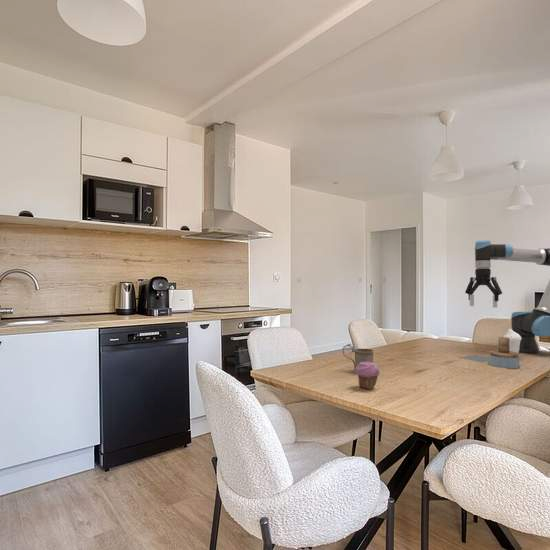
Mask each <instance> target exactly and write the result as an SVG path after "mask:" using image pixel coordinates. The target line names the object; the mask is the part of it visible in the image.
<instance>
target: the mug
mask: <svg viewBox="0 0 550 550" xmlns="http://www.w3.org/2000/svg"><path fill="white" fill-rule="evenodd" d="M347 347H351V349H352V350H351V353H354V359H352V358H351V357H349V356H347V355H346V354H345V351H344V349H345V348H347ZM374 352H375V351H374V349H371V348H355V349H354V347H353V345H352V344H351V343H347V344H346V345H345V346H343V347H342V354H343V356H344V357H345V358H347V359H349V360H351V362H352V363H353V367H354V369H353V370H352V372H353V374H354V373H355V374H356V372H355V370H356V367H357V365H359V364H360V363H361V362H372V363H374Z"/></svg>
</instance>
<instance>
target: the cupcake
mask: <svg viewBox="0 0 550 550" xmlns="http://www.w3.org/2000/svg"><path fill="white" fill-rule="evenodd" d="M355 372H356V373H355V374H356V375H357V376H358V377H357V378H358V386H359V387H360V388H362V389H365V390H369V391H370V390H372V389H373V388H375V386H376V384H377V381H378V376H380V369H379V367H378V365H377V364H376V363H375V362H373V363H372V362H361V363H360V364H359V365H357V367H356V370H355Z"/></svg>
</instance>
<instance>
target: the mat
mask: <svg viewBox="0 0 550 550" xmlns="http://www.w3.org/2000/svg"><path fill="white" fill-rule="evenodd" d="M458 358H459V359H465V360H469V361H473V362H479V363H487V362H488V363H489V357H488V356H487V357H486V356H481V355H475V354H473V355H467V356H458Z"/></svg>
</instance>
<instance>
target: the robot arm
mask: <svg viewBox="0 0 550 550" xmlns="http://www.w3.org/2000/svg"><path fill="white" fill-rule="evenodd" d="M474 254H475V255H474V258H475V259H474V262H475V263H474V265H475V266H474V267H475V272H474V274H475V277H473V276H471V277H470V278H469V283H468V285H467V287H466V289H465V291H464V293H465V294H467V295H468V301H469V307H474V306H475V295H474V293H475V291H476V290H477V289H478V288H479V287H480V286H486V287H487V288H488V289H489V291H490V292H491V293H492V294H493V295H492V308H494V309H495V308H496V309H497V308H498V302H499V300H500V299H499V296H500V295H502V294H503V291H502V290H501V287H500V286H499V283H498V281H497V277H496V276H492V277H491V274H492V271H491V267H492V266H491V265H492V264H491V261H492V260H494V261H505V262H506V261H509V262H522V263H533V264H534V263H535V264H536V265H538V266H539V265H540V266H547V267H550V247H549V248H537V249H529V248H516V247H515V248H514V247H513V246H512V245H511V244H506V243H505V244H504V243H502V244H501V243H499V244H498V243H497V244H492V242H491V240H487V239H486V240H477V241H475V245H474ZM510 320H511V329H512V330H513V331H514V332H516V333H517V334H519V335H520V336H521V341H520V347H519V349H520V350H519V353H526V354H535V353H536V354H537V353H540V348H539V346H538V345H539V344H538V343H537V340H536V337H538V338H548V337H550V279H549V281H548V283H547V285H546V287H545V289H544V292H543V294H542V296H541V298H540V301H539V302H538V305H537V307H535V308H533V309H532V311H529V310H528V311H513V312H512V313H511V316H510Z"/></svg>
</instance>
